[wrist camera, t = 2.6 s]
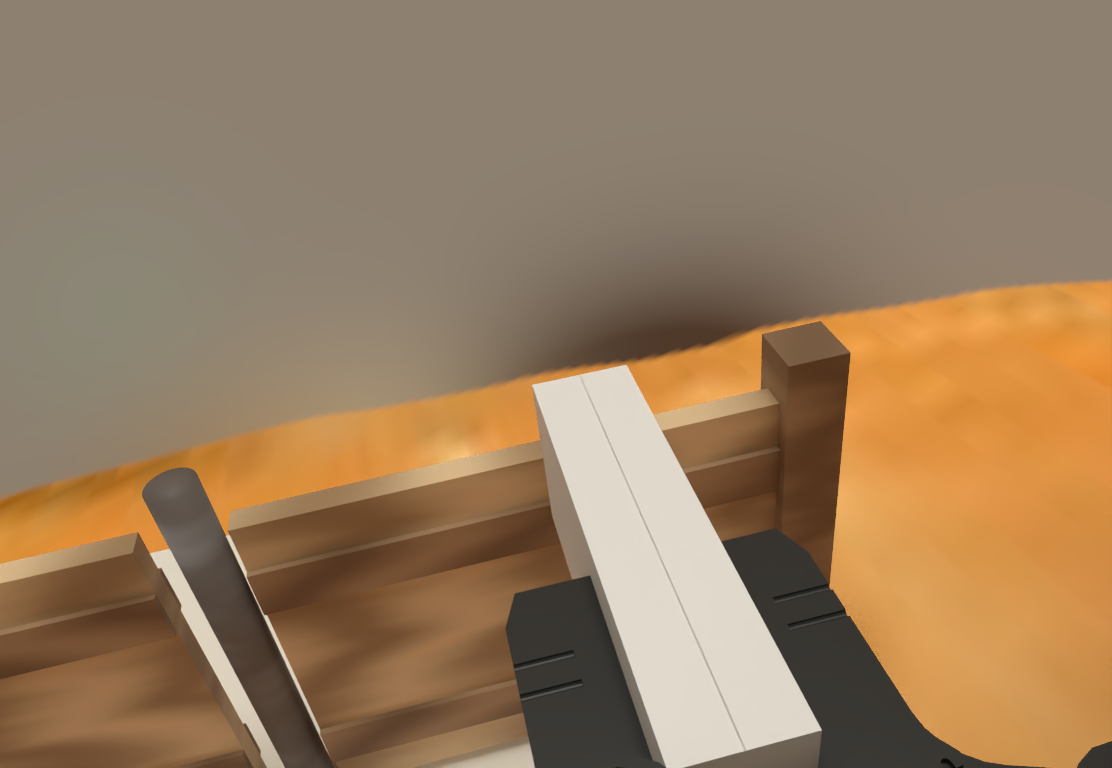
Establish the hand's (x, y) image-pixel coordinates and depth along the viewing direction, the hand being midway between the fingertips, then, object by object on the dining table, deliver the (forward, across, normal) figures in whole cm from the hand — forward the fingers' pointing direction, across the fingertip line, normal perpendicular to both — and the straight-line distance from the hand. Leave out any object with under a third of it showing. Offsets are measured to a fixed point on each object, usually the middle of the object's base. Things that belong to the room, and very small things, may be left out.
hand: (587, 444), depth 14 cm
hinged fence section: (+8, -1, -19) cm, 21 cm away
